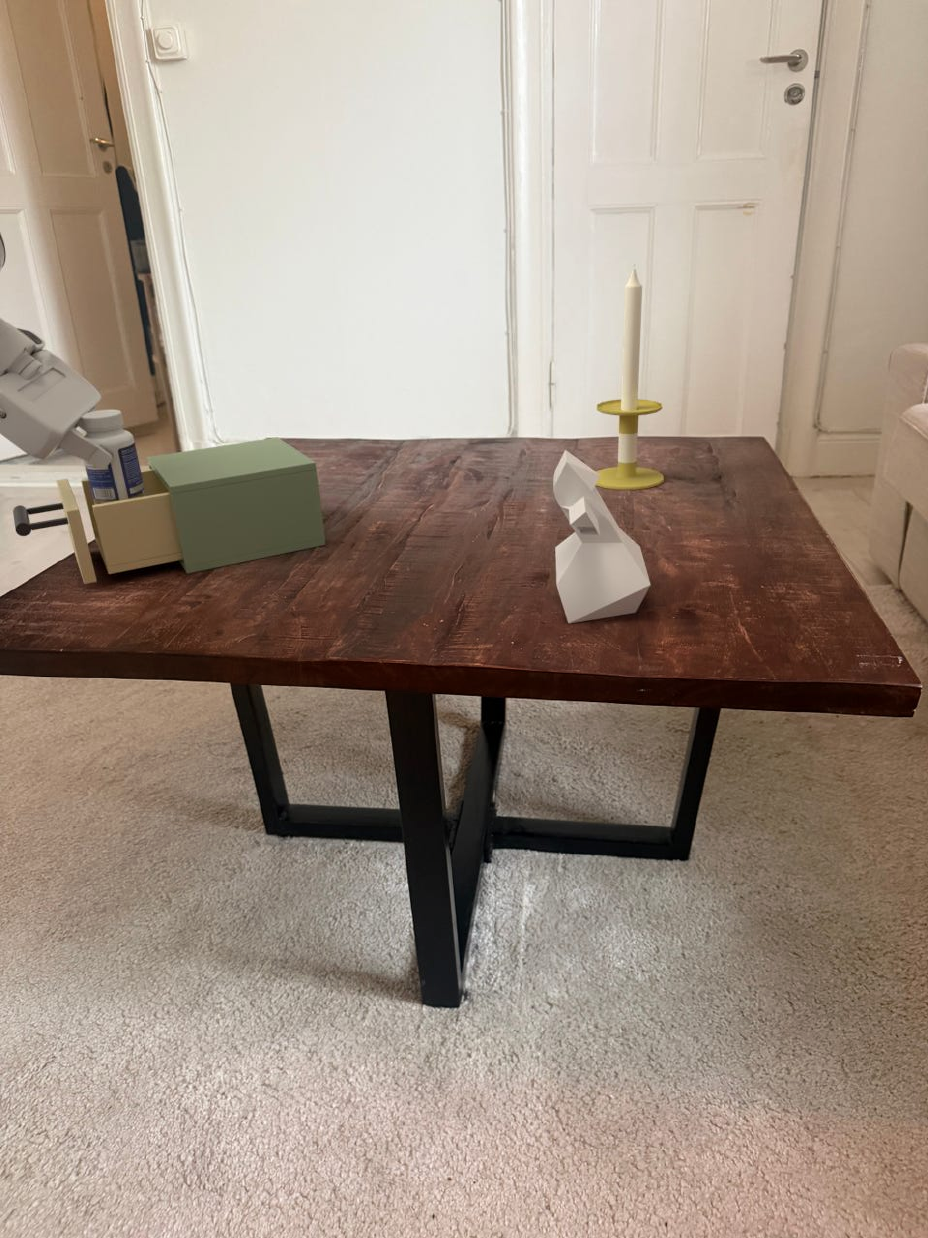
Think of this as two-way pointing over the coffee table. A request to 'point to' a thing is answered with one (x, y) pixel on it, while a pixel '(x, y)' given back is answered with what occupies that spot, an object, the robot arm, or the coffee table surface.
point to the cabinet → (241, 502)
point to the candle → (629, 403)
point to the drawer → (115, 527)
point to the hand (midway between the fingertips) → (116, 454)
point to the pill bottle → (124, 468)
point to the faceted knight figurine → (594, 551)
